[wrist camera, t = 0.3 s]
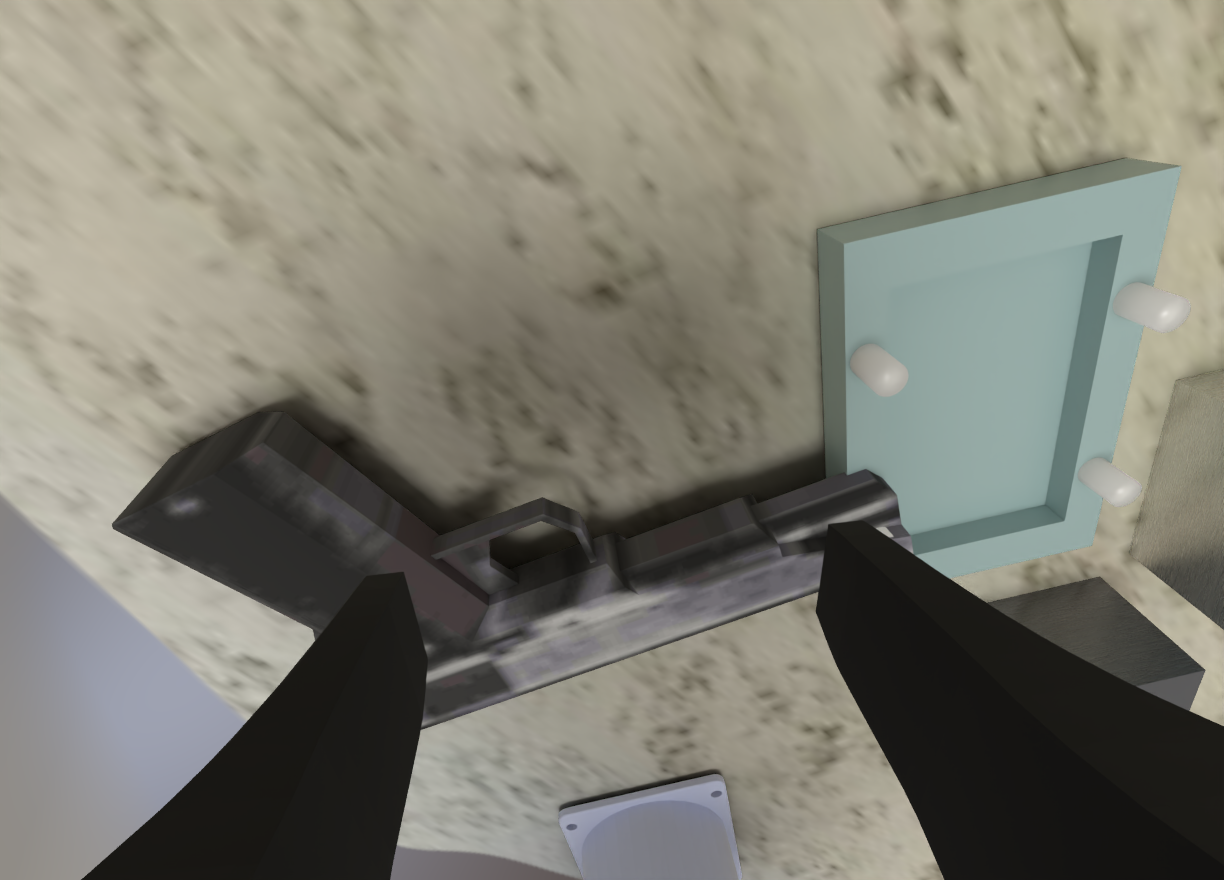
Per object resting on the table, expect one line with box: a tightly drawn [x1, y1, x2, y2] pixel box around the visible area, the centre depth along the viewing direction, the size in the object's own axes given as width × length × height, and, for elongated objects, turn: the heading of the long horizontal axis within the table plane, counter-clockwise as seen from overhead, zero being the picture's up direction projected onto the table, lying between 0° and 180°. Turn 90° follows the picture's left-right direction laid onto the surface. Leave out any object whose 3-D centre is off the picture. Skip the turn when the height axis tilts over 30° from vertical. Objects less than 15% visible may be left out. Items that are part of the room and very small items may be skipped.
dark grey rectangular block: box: [987, 577, 1205, 711], centre depth 26 cm, size 8×4×5 cm, turn 101°
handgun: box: [112, 412, 914, 730], centre depth 20 cm, size 3×21×12 cm
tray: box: [817, 158, 1191, 578], centre depth 20 cm, size 13×9×3 cm
